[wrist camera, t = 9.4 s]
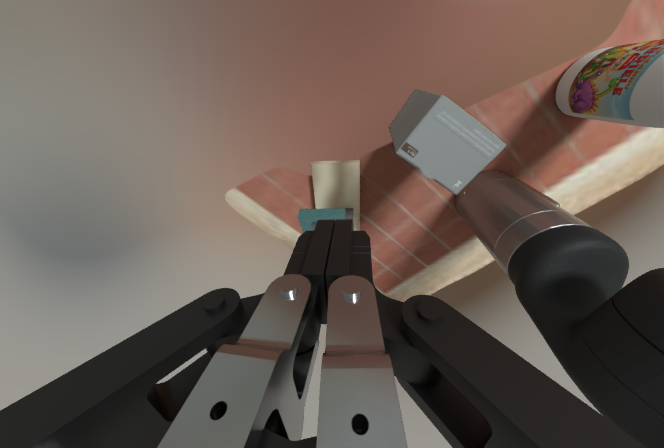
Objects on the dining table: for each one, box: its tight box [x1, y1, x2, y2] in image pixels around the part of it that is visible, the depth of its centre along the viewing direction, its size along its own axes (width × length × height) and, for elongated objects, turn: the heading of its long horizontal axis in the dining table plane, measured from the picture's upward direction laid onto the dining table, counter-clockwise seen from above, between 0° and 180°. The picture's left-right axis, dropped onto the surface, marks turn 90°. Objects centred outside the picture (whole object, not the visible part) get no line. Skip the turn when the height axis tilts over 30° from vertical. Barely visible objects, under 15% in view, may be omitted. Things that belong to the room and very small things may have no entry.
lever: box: [298, 208, 346, 233], centre depth 33 cm, size 5×17×11 cm, turn 4°
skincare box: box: [389, 89, 506, 194], centre depth 29 cm, size 8×7×16 cm
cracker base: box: [311, 160, 360, 231], centre depth 39 cm, size 8×19×13 cm, turn 4°
